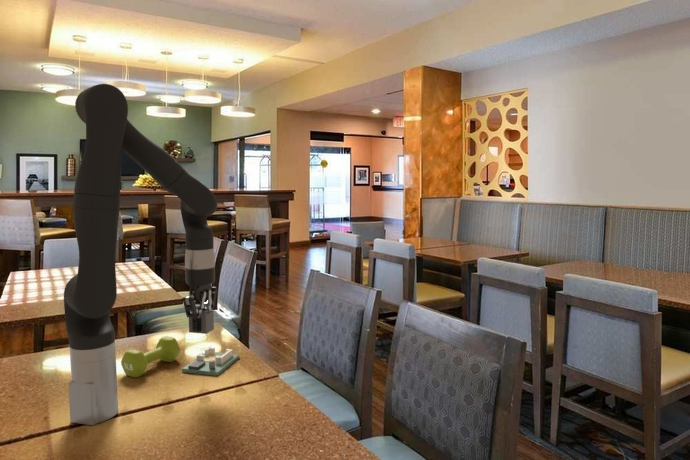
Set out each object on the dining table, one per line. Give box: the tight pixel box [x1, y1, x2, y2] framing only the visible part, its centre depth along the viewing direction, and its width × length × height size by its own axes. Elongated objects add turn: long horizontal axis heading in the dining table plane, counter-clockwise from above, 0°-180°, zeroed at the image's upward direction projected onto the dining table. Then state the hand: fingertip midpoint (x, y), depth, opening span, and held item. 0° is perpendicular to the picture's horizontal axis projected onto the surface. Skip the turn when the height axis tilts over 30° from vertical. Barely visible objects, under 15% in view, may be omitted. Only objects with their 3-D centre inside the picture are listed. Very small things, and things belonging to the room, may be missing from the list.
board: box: [181, 346, 241, 377], centre depth 143 cm, size 14×11×3 cm
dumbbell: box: [120, 335, 181, 378], centre depth 140 cm, size 16×8×7 cm, turn 154°
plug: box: [188, 309, 215, 335], centre depth 128 cm, size 4×6×5 cm
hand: (201, 328), depth 129 cm, fingers closed on plug, 4 cm apart
